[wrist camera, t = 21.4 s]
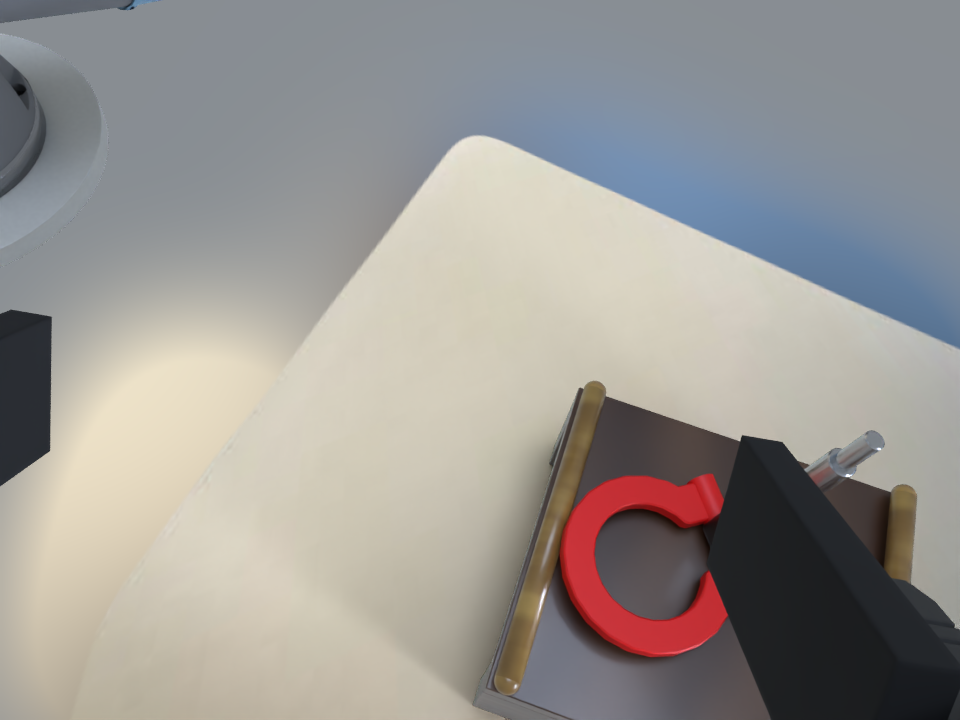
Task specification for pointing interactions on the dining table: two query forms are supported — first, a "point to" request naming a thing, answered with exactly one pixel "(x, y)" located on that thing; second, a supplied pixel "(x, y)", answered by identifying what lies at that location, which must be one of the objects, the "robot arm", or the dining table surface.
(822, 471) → the tow hook
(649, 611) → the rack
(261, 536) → the dining table surface
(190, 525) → the dining table surface
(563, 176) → the dining table surface
